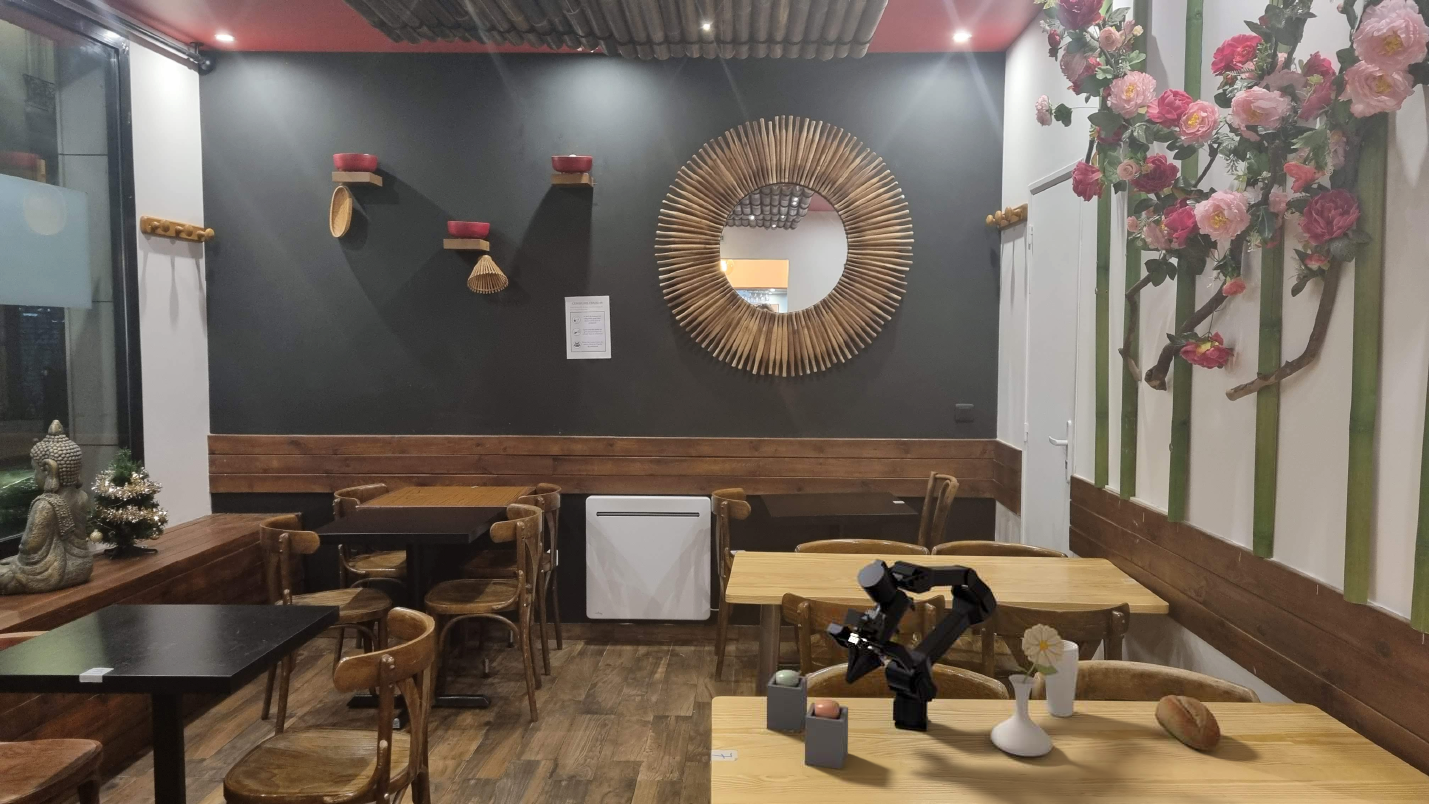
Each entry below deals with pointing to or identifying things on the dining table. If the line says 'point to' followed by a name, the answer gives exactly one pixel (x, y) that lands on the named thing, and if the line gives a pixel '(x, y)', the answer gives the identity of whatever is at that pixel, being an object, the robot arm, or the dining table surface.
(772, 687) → the grey square socket
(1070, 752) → the dining table surface
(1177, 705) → the bread roll
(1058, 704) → the drinking glass
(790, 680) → the sage button
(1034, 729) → the flower in vase
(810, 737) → the grey square housing
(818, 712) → the terracotta button
